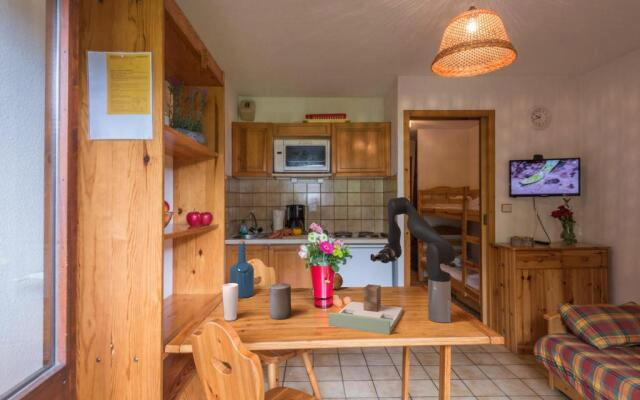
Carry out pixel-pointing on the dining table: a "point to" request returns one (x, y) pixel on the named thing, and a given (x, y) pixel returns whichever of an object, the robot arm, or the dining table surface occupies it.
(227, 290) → the drinking glass
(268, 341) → the dining table surface
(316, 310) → the dining table surface
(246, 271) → the wine bottle
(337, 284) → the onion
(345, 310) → the shallow open tray
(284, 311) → the pillar candle
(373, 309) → the walnut block
